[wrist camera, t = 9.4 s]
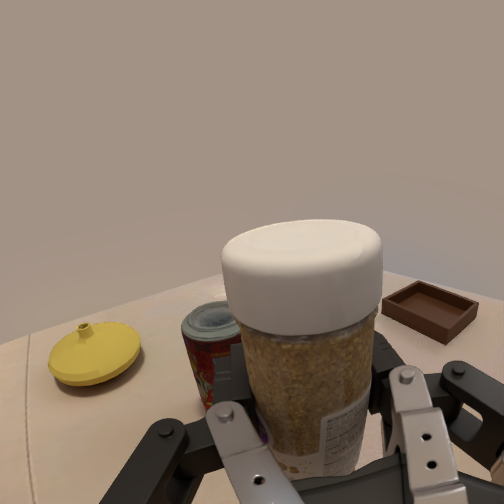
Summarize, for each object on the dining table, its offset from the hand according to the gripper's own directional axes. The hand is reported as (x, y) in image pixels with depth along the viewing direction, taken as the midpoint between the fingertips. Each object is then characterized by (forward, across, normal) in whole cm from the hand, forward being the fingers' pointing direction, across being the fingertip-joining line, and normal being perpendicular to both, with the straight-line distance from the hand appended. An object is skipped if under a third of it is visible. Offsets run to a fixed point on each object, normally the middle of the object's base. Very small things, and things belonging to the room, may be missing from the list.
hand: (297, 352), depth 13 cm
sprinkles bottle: (-3, 0, +8) cm, 8 cm away
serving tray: (+25, -26, +18) cm, 40 cm away
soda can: (+15, +5, +18) cm, 24 cm away
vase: (+25, +26, +17) cm, 40 cm away
